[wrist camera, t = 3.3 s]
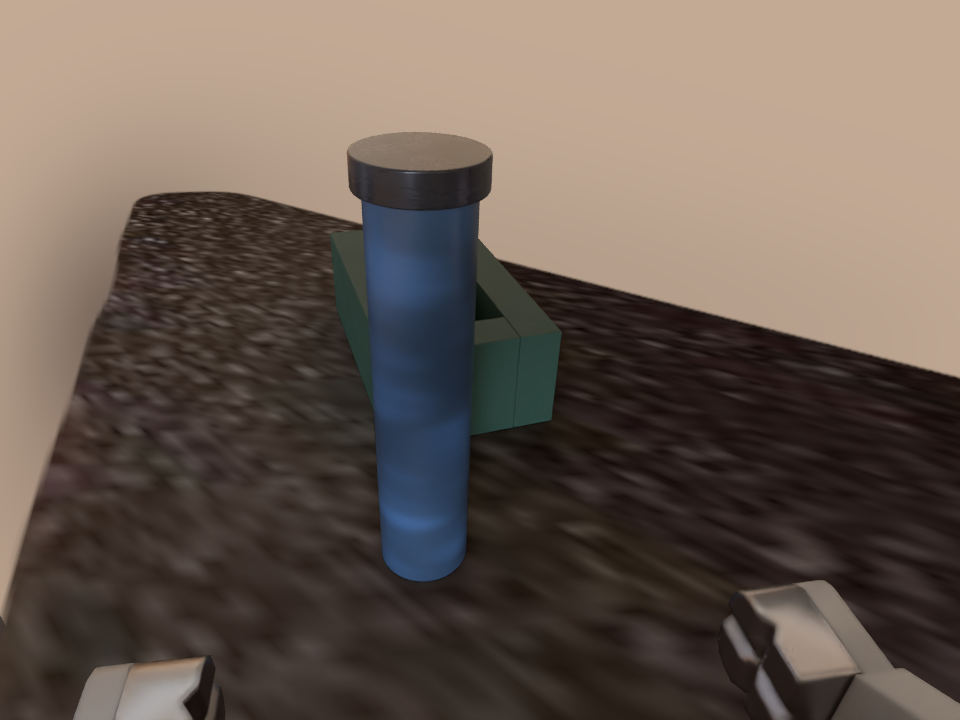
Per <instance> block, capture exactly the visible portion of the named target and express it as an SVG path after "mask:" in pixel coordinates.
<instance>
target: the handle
mask: <svg viewBox="0 0 960 720" xmlns="http://www.w3.org/2000/svg"><path fill="white" fill-rule="evenodd" d="M492 161H493V154H492V151H491V149H490V148H488V147H487V146H486V145H484V144H482V143H480V142H478V141H475V140H472V139H469V138H465V137H461V136H455V135H449V134H440V133H427V132H424V133H423V132H403V133H391V134H383V135H377V136H372V137H368V138H365V139H362V140H359V141H357V142H355V143H353V144H351V145H350V146H349V148H348V150H347V163H348V178H349V188H350V190H351V192H352V193H353V195H355V196H356V197H357V198H359V199H361V201H362V217H363V218H362V219H363V236H364V253H365V270H366V287H367V304H368V322H369V339H370V356H371V373H372V390H373V407H374V424H375V441H376V458H377V476H378V493H379V510H380V527H381V544H382V555H383V558H384V561H385V563H386V564H387V566H388V567H389V568H390V569H391V570H392V571H393V572H394V573H396V574H397V575H399V576H401V577H403V578H406V579H409V580H413V581H432V580H437V579H440V578H443V577H445V576H447V575H449V574H450V573H452V572H453V571H454V570H455V569H456V568H457V567H458V566H459V565H460V564H461V562H462V561H463V559H464V557H465V554H466V542H467V516H468V490H469V464H470V438H471V412H472V386H473V360H474V333H475V307H476V281H477V255H478V229H479V228H478V227H479V203H480V201H481V200H482V199H484V198H485V197H487V196H488V194H489V193H490V191H491V183H492Z"/></svg>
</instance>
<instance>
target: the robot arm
mask: <svg viewBox="0 0 960 720" xmlns="http://www.w3.org/2000/svg"><path fill="white" fill-rule="evenodd" d="M728 606H729V608H730V609H731V611H732V613H733V614H731V615H730V616H729V617H728V618H727V619H726V620H724V621H723V622H722V624H721V627H720V630H719V634H718V644H719V654H720V657H721V660H722V663H723V666H724V668H725V670H726V672H727V674H728V677H729V679H730V681H731V682H732V683H733V684H735V685H736V686H737V687H739V688H740V689H741V690H743V691H744V692H745V693H747V696H746V703H745V710H746V712H747V714H748V716H749V718H750V719H751V720H960V704H959V703H957V702H956V701H954V700H953V699H951V698H949V697H948V696H946V695H945V694H943V693H942V692H940V691H938V690H937V689H935V688H934V687H932V686H931V685H929V684H928V683H926V682H924V681H923V680H921V679H920V678H918V677H917V676H915V675H913V674H912V673H910V672H909V671H907V670H906V669H904V668H900V669H894V667H893V666H892V665H891V663H890V662H889V661H888V659H887V658H886V657H885V655H884V654H883V653H882V651H881V650H880V649H879V647H878V646H877V645H876V643H875V642H874V641H873V639H872V638H871V637H870V635H869V634H868V633H867V631H866V630H865V629H864V627H863V626H862V625H861V623H860V622H859V621H858V619H857V618H856V617H855V615H854V614H853V613H852V611H851V610H850V609H849V607H848V606H847V605H846V603H845V602H844V601H843V599H842V598H841V597H840V595H839V594H838V593H837V591H836V590H835V589H834V588H833V586H832V585H830V584H829V583H827V582H826V581H822V580H816V581H809V582H802V583H795V584H792V583H788V584H781V585H773V586H766V587H759V588H752V589H745V590H738V591H737V592H735V593H734V594H732V596H731V599H730V601H729V604H728ZM214 675H215V666H214V663H213V660H212V657H211V655H208V656H199V657H189V658H180V659H171V660H162V661H152V662H143V663H130V664H122V665H114V666H106V667H98V668H95V670H94V671H93V673H92V674H91V675H90V677H89V678H88V680H87V682H86V684H85V687H84V690H83V693H82V696H81V699H80V701H79V704H78V707H77V710H76V713H75V716H74V719H73V720H225V706H224V697H223V693H222V690H221V687H220V686H218V685H216V684H214V683H213V680H214Z"/></svg>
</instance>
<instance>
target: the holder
mask: <svg viewBox="0 0 960 720" xmlns="http://www.w3.org/2000/svg"><path fill="white" fill-rule="evenodd" d="M330 237H331V249H332V260H333V272H334V283H335V295H336V307H337V311H338V314H339V316H340V319H341V322H342V325H343V328H344V330H345V333H346V336H347V339H348V341H349V344H350V347H351V350H352V352H353V355H354V358H355V361H356V363H357V366H358V369H359V372H360V374H361V377H362V380H363V383H364V386H365V388H366V391H367V394H368V397H369V399H370V402H371V405H372V408H373V410H374V407H373V390H372V373H371V356H370V339H369V322H368V304H367V287H366V270H365V253H364V236H363V230H359V231H348V232H337V233H331V234H330ZM561 334H562V332H561V330H560V329H559V328H558V327H557V326H556V325H555V324H554V323H553V321H552V320H551V319H550V318H549V317H548V316H547V315H546V314H545V312H544V311H543V310H542V309H541V308H540V307H539V306H538V305H537V304H536V302H535V301H534V300H533V299H532V298H531V297H530V296H529V295H528V293H527V292H526V291H525V290H524V289H523V288H522V287H521V286H520V285H519V283H518V282H517V281H516V280H515V279H514V278H513V277H512V276H511V274H510V273H509V272H508V271H507V270H506V269H505V268H504V267H503V266H502V264H501V263H500V262H499V261H498V260H497V259H496V258H495V257H494V255H493V254H492V253H491V252H490V251H489V250H488V249H487V248H486V247H485V246H484V244H483V243H482V242H481V241H480V240H479V239H478V255H477V281H476V307H475V333H474V360H473V386H472V412H471V435H476V434H481V433H487V432H492V431H497V430H502V429H507V428H512V427H518V426H523V425H528V424H534V423H539V422H544V421H549V420H551V418H552V410H553V401H554V393H555V384H556V376H557V367H558V359H559V351H560V342H561Z"/></svg>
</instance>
